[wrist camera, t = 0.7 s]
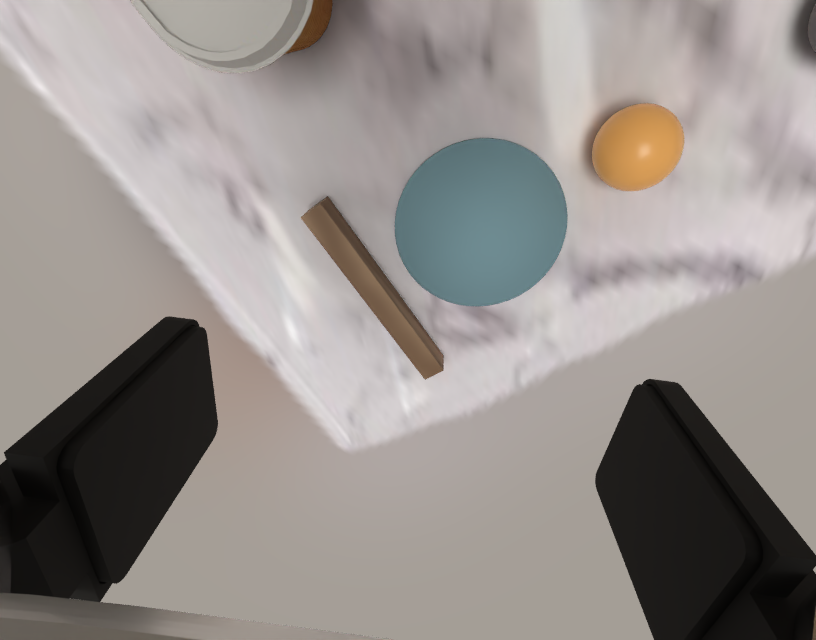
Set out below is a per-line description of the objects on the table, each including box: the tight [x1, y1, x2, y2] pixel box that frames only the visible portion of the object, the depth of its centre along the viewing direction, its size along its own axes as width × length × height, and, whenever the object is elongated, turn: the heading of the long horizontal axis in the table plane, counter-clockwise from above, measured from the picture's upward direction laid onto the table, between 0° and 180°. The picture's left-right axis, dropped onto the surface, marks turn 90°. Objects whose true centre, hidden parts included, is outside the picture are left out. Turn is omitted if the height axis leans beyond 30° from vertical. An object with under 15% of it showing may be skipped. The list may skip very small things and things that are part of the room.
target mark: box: [395, 138, 567, 306], centre depth 36 cm, size 14×14×1 cm
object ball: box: [592, 103, 684, 191], centre depth 30 cm, size 6×6×6 cm
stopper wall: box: [301, 197, 443, 379], centre depth 38 cm, size 2×18×2 cm, turn 34°
